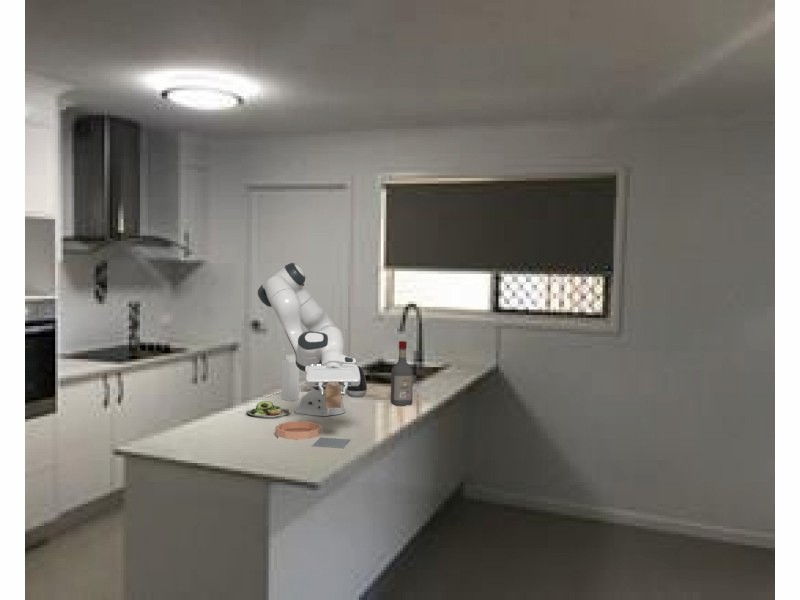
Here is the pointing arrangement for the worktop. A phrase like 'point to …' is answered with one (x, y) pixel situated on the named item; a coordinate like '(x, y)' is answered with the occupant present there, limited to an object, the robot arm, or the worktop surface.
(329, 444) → the parts tray
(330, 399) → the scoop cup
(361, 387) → the black egg-shaped dome
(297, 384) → the milk
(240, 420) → the worktop surface
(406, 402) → the liquor
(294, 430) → the bowl
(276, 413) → the salad plate
